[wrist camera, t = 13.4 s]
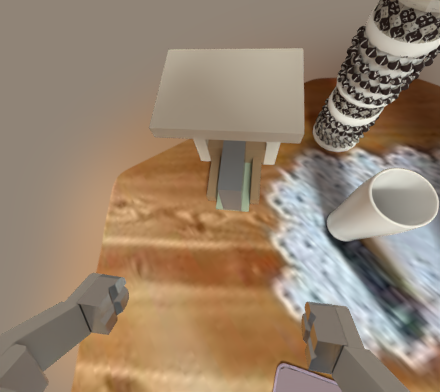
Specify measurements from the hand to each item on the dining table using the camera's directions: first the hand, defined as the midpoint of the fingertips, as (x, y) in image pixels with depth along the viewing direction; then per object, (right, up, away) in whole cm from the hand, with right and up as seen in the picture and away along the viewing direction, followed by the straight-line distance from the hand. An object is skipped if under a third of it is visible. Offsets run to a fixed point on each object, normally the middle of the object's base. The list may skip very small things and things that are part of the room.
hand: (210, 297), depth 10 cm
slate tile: (+3, +6, +31) cm, 32 cm away
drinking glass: (+21, 0, +27) cm, 34 cm away
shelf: (+3, +7, +31) cm, 33 cm away
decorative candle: (+23, +17, +33) cm, 43 cm away
